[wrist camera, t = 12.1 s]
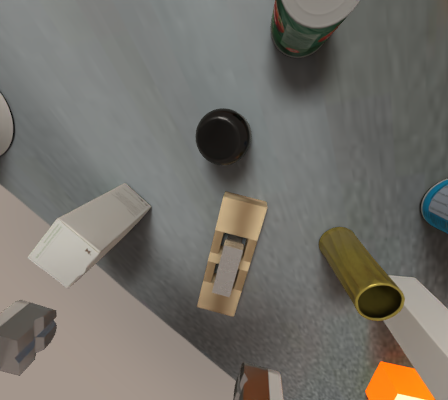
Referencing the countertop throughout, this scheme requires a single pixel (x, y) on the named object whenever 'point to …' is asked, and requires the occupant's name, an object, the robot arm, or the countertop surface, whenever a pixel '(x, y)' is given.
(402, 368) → the orange juice
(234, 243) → the grey concrete brick
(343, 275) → the vase
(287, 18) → the canned tomato
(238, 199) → the flat wooden block
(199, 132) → the supplement bottle
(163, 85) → the countertop surface
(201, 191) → the countertop surface
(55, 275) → the skincare box
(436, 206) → the beverage bottle
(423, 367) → the milk
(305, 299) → the countertop surface
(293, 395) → the countertop surface
